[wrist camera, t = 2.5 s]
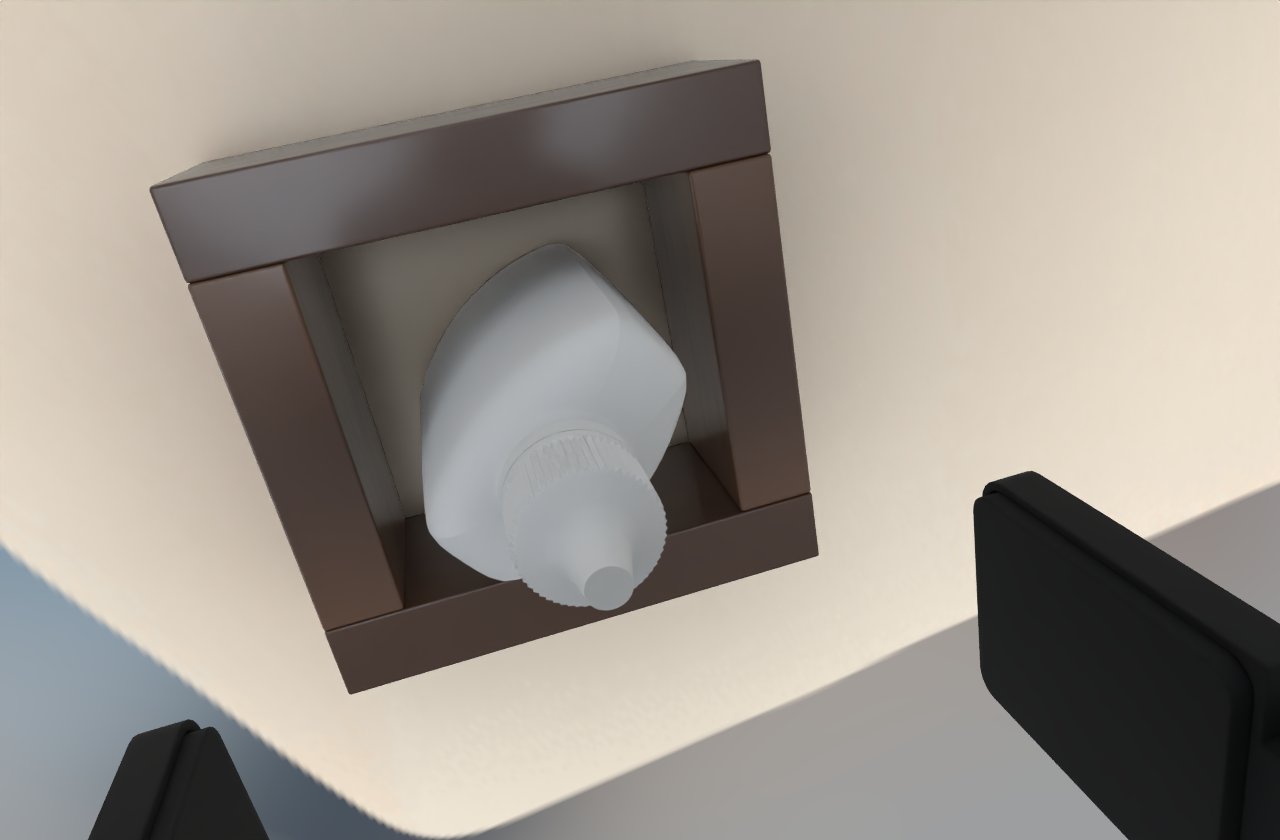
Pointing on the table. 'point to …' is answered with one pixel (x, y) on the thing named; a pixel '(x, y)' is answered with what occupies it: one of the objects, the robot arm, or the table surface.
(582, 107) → the holder
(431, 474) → the eye dropper bottle
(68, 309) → the table surface
